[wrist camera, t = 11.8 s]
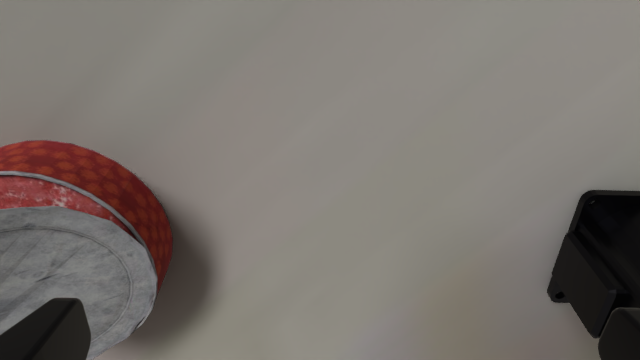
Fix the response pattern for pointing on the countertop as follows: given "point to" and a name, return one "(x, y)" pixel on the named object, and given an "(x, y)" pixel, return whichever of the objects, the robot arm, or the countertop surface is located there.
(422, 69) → the countertop surface
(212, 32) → the countertop surface
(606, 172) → the countertop surface
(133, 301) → the canned food
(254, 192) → the countertop surface
